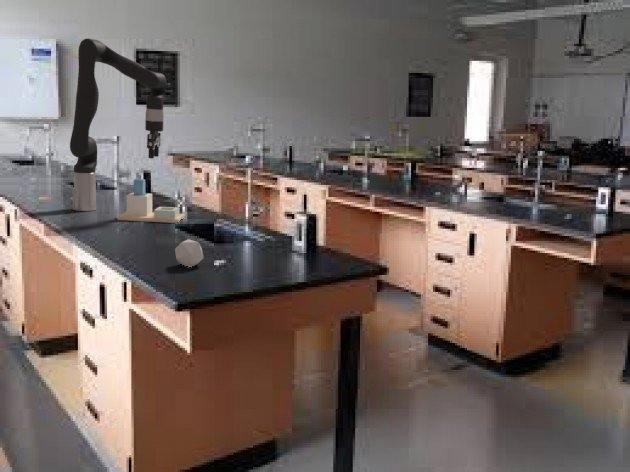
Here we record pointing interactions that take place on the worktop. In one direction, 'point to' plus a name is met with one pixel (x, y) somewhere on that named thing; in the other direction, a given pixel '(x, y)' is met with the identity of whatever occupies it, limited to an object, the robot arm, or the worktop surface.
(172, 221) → the stepped block tray
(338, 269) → the worktop surface
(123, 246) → the worktop surface
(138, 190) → the plug
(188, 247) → the grey faceted polyhedron
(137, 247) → the worktop surface
